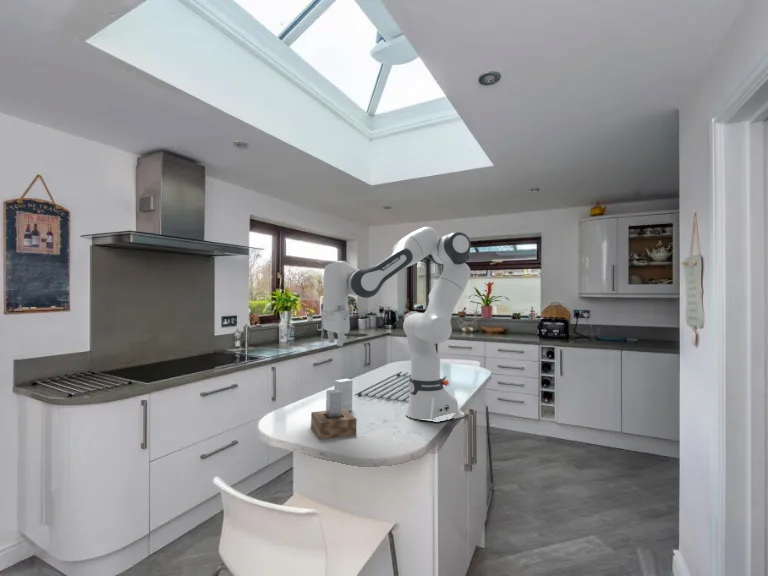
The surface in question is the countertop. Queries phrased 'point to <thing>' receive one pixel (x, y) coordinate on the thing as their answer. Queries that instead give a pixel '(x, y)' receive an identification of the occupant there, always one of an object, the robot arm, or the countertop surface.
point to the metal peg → (333, 404)
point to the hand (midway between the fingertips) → (335, 344)
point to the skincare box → (345, 393)
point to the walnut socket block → (333, 424)
